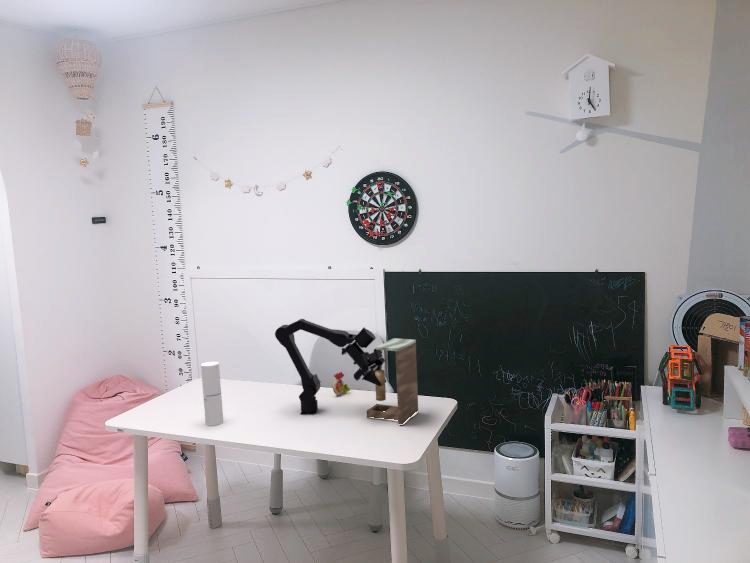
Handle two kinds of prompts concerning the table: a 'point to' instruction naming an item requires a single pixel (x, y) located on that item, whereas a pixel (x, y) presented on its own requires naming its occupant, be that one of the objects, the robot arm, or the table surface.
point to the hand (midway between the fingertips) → (383, 384)
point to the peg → (381, 389)
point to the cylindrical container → (212, 393)
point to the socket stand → (401, 382)
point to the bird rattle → (339, 387)
